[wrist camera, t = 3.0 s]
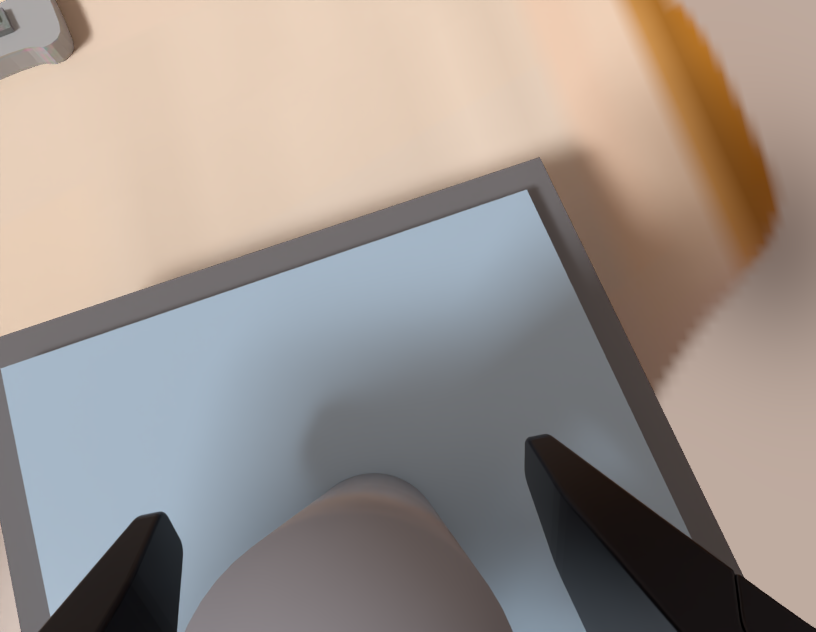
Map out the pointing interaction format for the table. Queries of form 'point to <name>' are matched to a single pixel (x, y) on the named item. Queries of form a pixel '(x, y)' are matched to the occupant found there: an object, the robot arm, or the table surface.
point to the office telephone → (32, 35)
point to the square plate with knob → (339, 436)
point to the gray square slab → (3, 479)
